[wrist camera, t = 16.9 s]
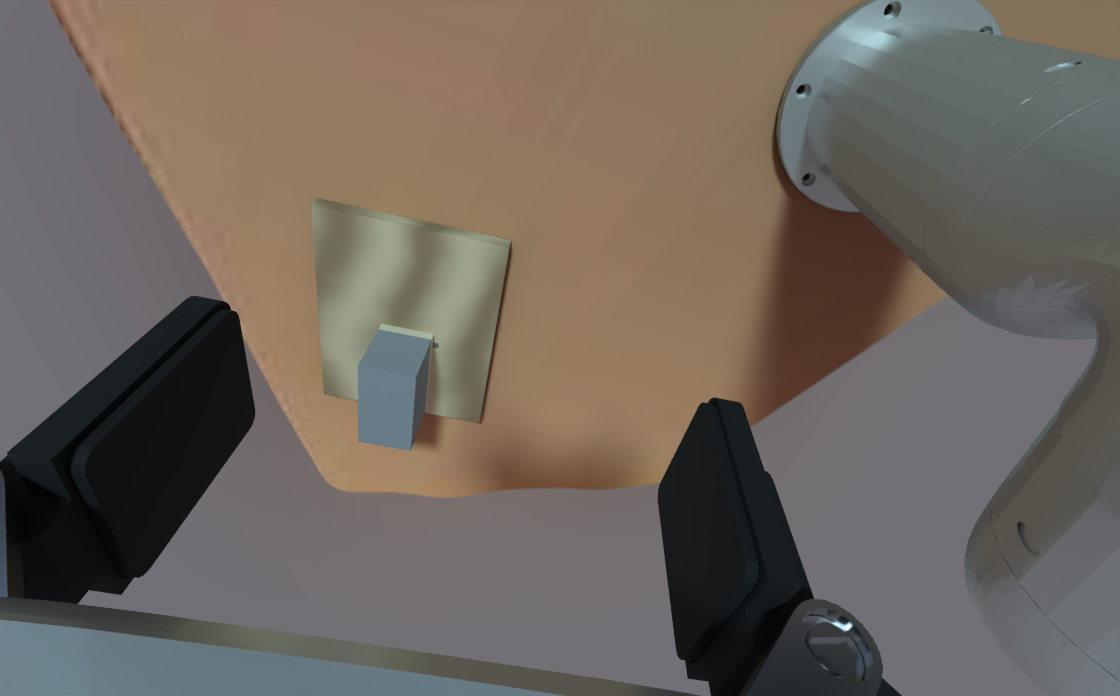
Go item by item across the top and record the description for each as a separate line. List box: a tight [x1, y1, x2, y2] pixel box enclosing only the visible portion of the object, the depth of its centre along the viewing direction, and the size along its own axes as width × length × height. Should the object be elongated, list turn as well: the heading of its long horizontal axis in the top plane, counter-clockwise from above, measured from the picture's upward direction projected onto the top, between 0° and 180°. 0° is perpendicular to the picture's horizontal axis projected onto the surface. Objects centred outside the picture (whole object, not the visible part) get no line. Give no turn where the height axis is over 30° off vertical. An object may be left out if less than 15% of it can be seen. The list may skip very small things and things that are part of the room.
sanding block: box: [358, 324, 434, 451], centre depth 44 cm, size 4×8×6 cm, turn 168°
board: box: [311, 199, 511, 423], centre depth 44 cm, size 14×18×1 cm
